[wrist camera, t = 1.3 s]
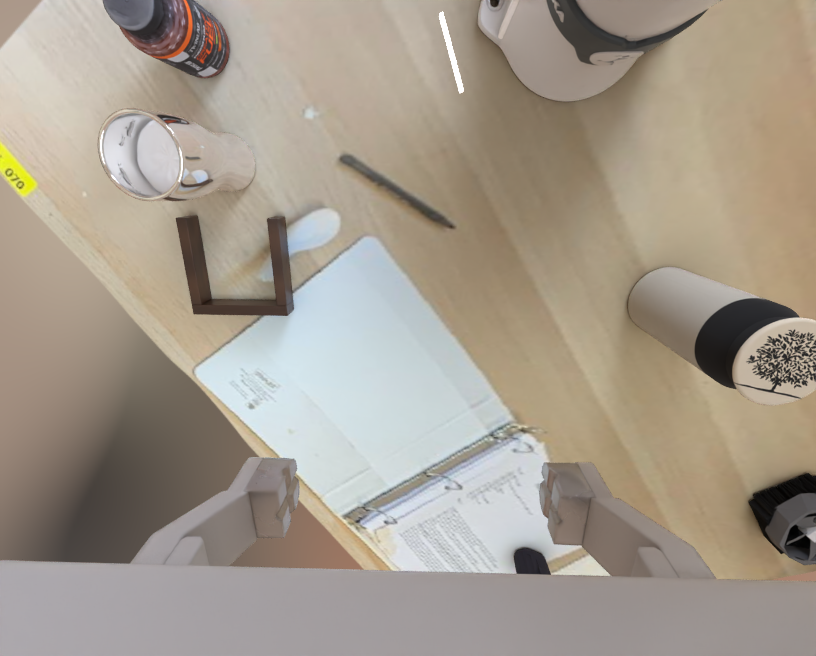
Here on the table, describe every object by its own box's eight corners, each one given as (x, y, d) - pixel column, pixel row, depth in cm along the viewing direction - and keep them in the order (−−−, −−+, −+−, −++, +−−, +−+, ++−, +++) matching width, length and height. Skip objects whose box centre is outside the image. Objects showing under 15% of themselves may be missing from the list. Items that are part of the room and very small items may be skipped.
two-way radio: (507, 557, 64) (531, 664, 50) (523, 537, 62) (551, 643, 48) (538, 569, 64) (570, 679, 50) (554, 550, 63) (591, 658, 49)
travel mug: (650, 256, 47) (776, 300, 30) (710, 281, 48) (867, 337, 31) (613, 317, 50) (710, 389, 33) (671, 340, 50) (795, 422, 33)
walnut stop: (187, 215, 47) (175, 217, 45) (285, 216, 47) (277, 218, 45) (204, 308, 51) (193, 314, 49) (294, 309, 51) (287, 315, 49)
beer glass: (193, 183, 46) (91, 186, 32) (202, 118, 44) (97, 90, 30) (253, 204, 47) (179, 216, 33) (265, 141, 44) (191, 124, 30)
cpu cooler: (772, 526, 52) (857, 494, 50) (740, 494, 58) (816, 464, 56) (794, 577, 55) (876, 549, 53) (762, 542, 61) (835, 515, 58)
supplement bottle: (233, 82, 42) (170, 50, 32) (176, 76, 42) (94, 43, 32) (230, 13, 40) (160, -46, 30) (170, 7, 40) (79, -54, 30)
